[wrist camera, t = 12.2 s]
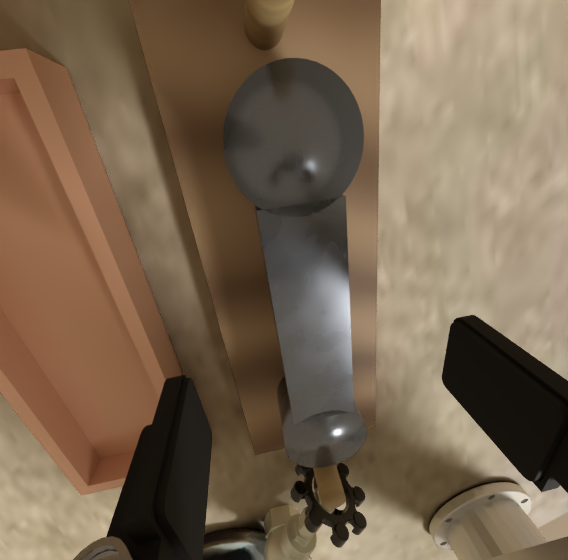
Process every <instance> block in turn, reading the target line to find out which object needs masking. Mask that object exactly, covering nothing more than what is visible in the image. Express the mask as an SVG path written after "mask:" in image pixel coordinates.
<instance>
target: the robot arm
mask: <svg viewBox="0 0 568 560" xmlns="http://www.w3.org/2000/svg"><path fill="white" fill-rule="evenodd" d="M442 381H443V384H444V385H445V387H446V388H447V389H448V390H449V392H450V393H451V394H452V395H453V396H454V397H455V399H456V400H457V401H458V402H459V403H460V404H461V405H462V407H463V408H464V409H465V410H466V411H467V412H468V413H469V415H470V416H471V417H472V418H473V419H474V420H475V422H476V423H477V424H478V425H479V426H480V427H481V428H482V430H483V431H484V432H485V433H486V434H487V435H488V436H489V438H490V439H491V440H492V441H493V442H494V443H495V444H496V446H497V447H498V448H499V449H500V450H501V451H502V453H503V454H504V455H505V456H506V457H507V458H508V459H509V461H510V462H511V463H512V464H513V465H514V466H515V467H516V469H517V470H518V471H519V472H520V473H521V474H522V475H523V476H524V477H525V478H526V479H527V480H529V481H532V482H533V483H534V484H535V485H536V486H537V487H538V488H539V490H540V491H541V492H544V491H547V490H551V489H555V488H558V487H559V486H560V485H561V486H562V487H563V488H564V489H565V491H566V492H567V493H568V381H567V380H566V379H564V378H563V377H561V376H560V375H559V374H557V373H556V372H554V371H553V370H552V369H550V368H549V367H547V366H546V365H544V364H543V363H542V362H540V361H539V360H537V359H536V358H535V357H533V356H532V355H530V354H529V353H527V352H526V351H525V350H523V349H522V348H520V347H519V346H518V345H516V344H515V343H513V342H512V341H511V340H509V339H508V338H506V337H505V336H503V335H502V334H501V333H499V332H498V331H496V330H495V329H494V328H492V327H491V326H489V325H488V324H486V323H485V322H484V321H482V320H481V319H479V318H478V317H476V316H474V315H470V316H465V317H460V318H456V319H455V320H454V322H453V323H452V324H451V326H450V332H449V338H448V344H447V349H446V355H445V361H444V367H443V373H442ZM211 448H212V432H211V428H210V425H209V423H208V420H207V417H206V415H205V412H204V409H203V407H202V404H201V401H200V399H199V396H198V393H197V391H196V388H195V386H194V383H193V380H192V379H191V378H188V379H187V378H186V376H185V375H181V376H176V377H171V378H167V379H166V380H165V382H164V386H163V389H162V392H161V395H160V399H159V402H158V405H157V409H156V412H155V415H154V419H153V422H152V424H151V425H147V426H145V427H144V428H143V430H142V432H141V434H140V437H139V440H138V443H137V446H136V449H135V452H134V455H133V458H132V461H131V464H130V467H129V470H128V473H127V476H126V479H125V482H124V485H123V488H122V491H121V494H120V497H119V500H118V503H117V506H116V509H115V512H114V515H113V518H112V521H111V524H110V528H109V531H108V534H107V537H104V538H101V539H99V540H97V541H95V542H93V543H91V544H90V545H88V546H87V547H86V548H85V549H83V550H82V551H81V552H80V553H79V554H78V555H77V556H76V557H75V558H74V559H73V560H202V558H203V546H204V534H205V521H206V509H207V497H208V484H209V472H210V460H211ZM530 509H531V498H530V496H529V495H528V494H527V493H526V492H525V490H524V489H523V488H522V487H521V486H519V485H517V484H514V483H510V482H496V483H490V484H485V485H482V486H479V487H475V488H473V489H470V490H468V491H466V492H464V493H462V494H460V495H458V496H456V497H455V498H453V499H452V500H450V501H449V502H447V503H446V504H445V505H444V506H443V507H441V508H440V509H439V510H438V512H437V513H436V514H435V515H434V517H433V518H432V520H431V523H430V526H429V532H430V534H431V536H432V538H433V540H434V542H435V543H436V545H437V546H439V547H441V548H443V549H446V550H453V551H454V553H455V554H456V556H457V558H458V560H568V537H564V538H561V539H558V540H554V541H550V542H548V541H547V540H546V538H545V537H544V536H543V534H542V533H541V532H540V531H539V529H538V528H537V527H536V525H535V524H534V523H533V522H532V520H531V519H530V518H529V517H528V513H529V511H530Z"/></svg>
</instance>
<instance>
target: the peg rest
mask: <svg viewBox="0 0 568 560" xmlns="http://www.w3.org/2000/svg"><path fill="white" fill-rule="evenodd" d="M129 4H130V7H131V11H132V14H133V18H134V21H135V25H136V29H137V32H138V36H139V39H140V43H141V47H142V50H143V54H144V57H145V61H146V65H147V68H148V72H149V75H150V79H151V82H152V86H153V90H154V93H155V97H156V100H157V104H158V108H159V111H160V115H161V118H162V122H163V125H164V129H165V133H166V136H167V140H168V143H169V147H170V151H171V154H172V158H173V161H174V165H175V169H176V172H177V176H178V179H179V183H180V186H181V190H182V194H183V197H184V201H185V204H186V208H187V212H188V215H189V219H190V222H191V226H192V230H193V233H194V237H195V240H196V244H197V247H198V251H199V255H200V258H201V262H202V265H203V269H204V273H205V276H206V280H207V283H208V287H209V290H210V294H211V298H212V301H213V305H214V308H215V312H216V316H217V319H218V323H219V326H220V330H221V334H222V337H223V341H224V344H225V348H226V351H227V355H228V359H229V362H230V366H231V369H232V373H233V377H234V380H235V384H236V387H237V391H238V394H239V398H240V402H241V405H242V409H243V412H244V416H245V420H246V423H247V427H248V430H249V434H250V438H251V441H252V445H253V448H254V452H255V455H257V454H261V453H265V452H270V451H274V450H279V449H283V448H285V444H284V437H283V431H282V424H281V417H280V411H279V404H278V398H277V389H278V385H279V383H280V381H281V380H282V378H283V377H284V372H283V366H282V360H281V355H280V349H279V343H278V338H277V332H276V327H275V321H274V315H273V310H272V304H271V298H270V293H269V287H268V282H267V276H266V270H265V265H264V259H263V253H262V248H261V242H260V237H259V231H258V225H257V220H256V214H255V208H254V204H253V203H252V202H251V201H250V200H248V199H247V198H246V196H245V195H244V194H243V193H242V192H241V191H240V189H239V188H238V187H237V185H236V184H235V182H234V180H233V178H232V176H231V174H230V172H229V169H228V167H227V163H226V159H225V155H224V148H223V130H224V122H225V118H226V113H227V111H228V108H229V105H230V102H231V101H232V99H233V97H234V95H235V93H236V91H237V90H238V89H239V87H240V86H241V84H242V83H243V82H244V81H245V80H246V79H247V78H248V77H249V76H250V75H251V74H252V73H254V72H255V71H256V70H257V69H259V68H261V67H262V66H264V65H266V64H268V63H271V62H273V61H276V60H280V59H285V58H303V59H309V60H312V61H316V62H318V63H320V64H322V65H324V66H326V67H328V68H329V69H331V70H332V71H334V72H335V73H336V74H337V75H338V76H339V77H340V78H342V80H343V81H344V82H345V83H346V84H347V86H348V87H349V88H350V90H351V92H352V93H353V95H354V97H355V99H356V101H357V103H358V106H359V109H360V112H361V115H362V121H363V128H364V146H363V153H362V158H361V161H360V165H359V167H358V170H357V172H356V175H355V177H354V178H353V180H352V182H351V184H350V185H349V187H348V188H347V189H346V191H345V192H344V193H343V194H342V195H344V196H346V211H347V238H348V265H349V292H350V318H351V345H352V372H353V399H354V401H355V403H356V405H357V408H358V410H359V412H360V414H361V416H362V418H363V421H364V423H365V425H366V429H372V428H375V393H376V318H377V243H378V168H379V93H380V18H381V0H129ZM313 470H314V474H315V478H316V483H317V487H318V491H319V496H320V500H321V504H322V506H323V507H324V508H327V509H333V508H337V507H339V506H341V505H342V504H343V503H344V502H345V501H346V496H345V493H344V490H343V487H342V483H341V480H340V477H339V473H338V470H337V467H336V464H335V465H332V466H328V467H321V468H313Z"/></svg>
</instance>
